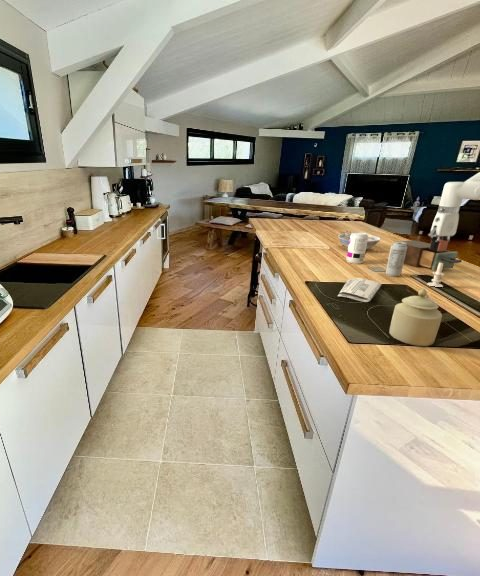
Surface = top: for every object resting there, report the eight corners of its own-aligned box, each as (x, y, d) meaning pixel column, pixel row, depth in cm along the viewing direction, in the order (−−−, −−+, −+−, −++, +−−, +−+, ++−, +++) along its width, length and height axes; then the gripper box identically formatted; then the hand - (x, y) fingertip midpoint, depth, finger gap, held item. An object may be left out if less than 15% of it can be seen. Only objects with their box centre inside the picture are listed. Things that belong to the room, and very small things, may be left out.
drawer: (463, 271, 144) (468, 254, 141) (443, 273, 141) (448, 256, 138) (426, 260, 160) (430, 245, 157) (408, 262, 157) (412, 247, 155)
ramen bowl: (377, 256, 173) (379, 241, 170) (332, 251, 184) (334, 237, 182) (379, 247, 193) (381, 233, 190) (339, 243, 204) (341, 230, 201)
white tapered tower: (434, 283, 132) (440, 259, 128) (446, 287, 127) (453, 262, 123) (424, 284, 131) (430, 260, 127) (435, 288, 126) (442, 263, 122)
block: (436, 248, 151) (439, 239, 149) (445, 250, 147) (448, 241, 145) (428, 249, 150) (431, 239, 148) (438, 251, 146) (440, 241, 144)
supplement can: (343, 262, 163) (347, 233, 158) (349, 259, 168) (354, 231, 163) (359, 265, 158) (364, 235, 152) (365, 262, 163) (371, 233, 157)
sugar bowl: (380, 320, 101) (390, 276, 95) (420, 324, 98) (432, 279, 92) (395, 343, 87) (408, 293, 82) (441, 349, 84) (457, 297, 79)
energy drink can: (402, 275, 142) (409, 242, 137) (398, 278, 138) (406, 244, 133) (387, 272, 146) (394, 240, 141) (383, 275, 142) (390, 242, 137)
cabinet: (436, 265, 156) (441, 246, 153) (415, 267, 153) (420, 248, 150) (410, 257, 169) (414, 240, 166) (391, 259, 166) (395, 241, 163)
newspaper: (349, 280, 137) (350, 275, 136) (380, 288, 130) (382, 283, 129) (333, 295, 120) (335, 289, 119) (367, 306, 113) (369, 299, 112)
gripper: (441, 212, 137) (430, 252, 143) (471, 210, 140) (459, 250, 147) (425, 210, 143) (416, 249, 150) (454, 208, 147) (443, 246, 154)
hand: (437, 249), depth 148 cm, fingers closed on block, 4 cm apart
